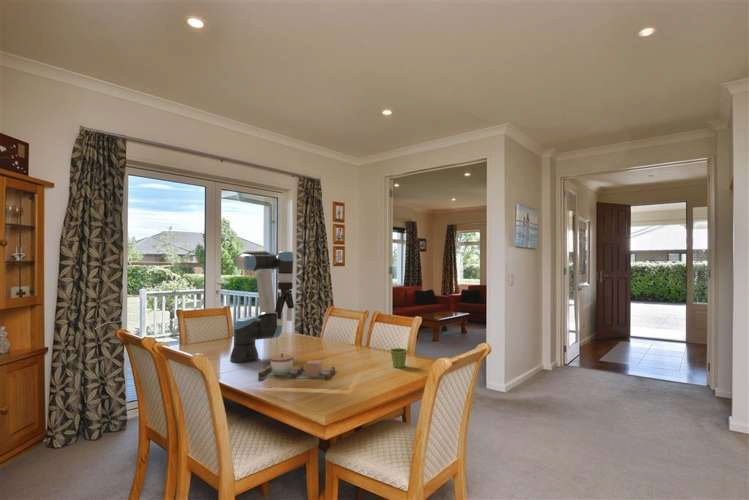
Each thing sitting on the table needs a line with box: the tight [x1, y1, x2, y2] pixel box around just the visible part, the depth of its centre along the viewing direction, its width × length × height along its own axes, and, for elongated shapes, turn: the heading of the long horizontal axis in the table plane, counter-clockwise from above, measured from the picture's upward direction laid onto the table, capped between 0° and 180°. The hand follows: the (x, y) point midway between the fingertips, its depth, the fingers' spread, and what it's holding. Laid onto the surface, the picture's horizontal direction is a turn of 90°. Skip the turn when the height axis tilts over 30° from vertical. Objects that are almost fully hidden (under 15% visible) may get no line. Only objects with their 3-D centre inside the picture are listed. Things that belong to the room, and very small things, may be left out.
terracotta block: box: [305, 359, 322, 376], centre depth 196 cm, size 6×6×6 cm
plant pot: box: [389, 347, 409, 369], centre depth 216 cm, size 9×9×9 cm
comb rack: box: [257, 364, 336, 381], centre depth 197 cm, size 15×33×4 cm, turn 83°
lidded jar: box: [269, 353, 294, 375], centre depth 198 cm, size 11×11×9 cm
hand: (284, 323), depth 211 cm, fingers open, 13 cm apart
